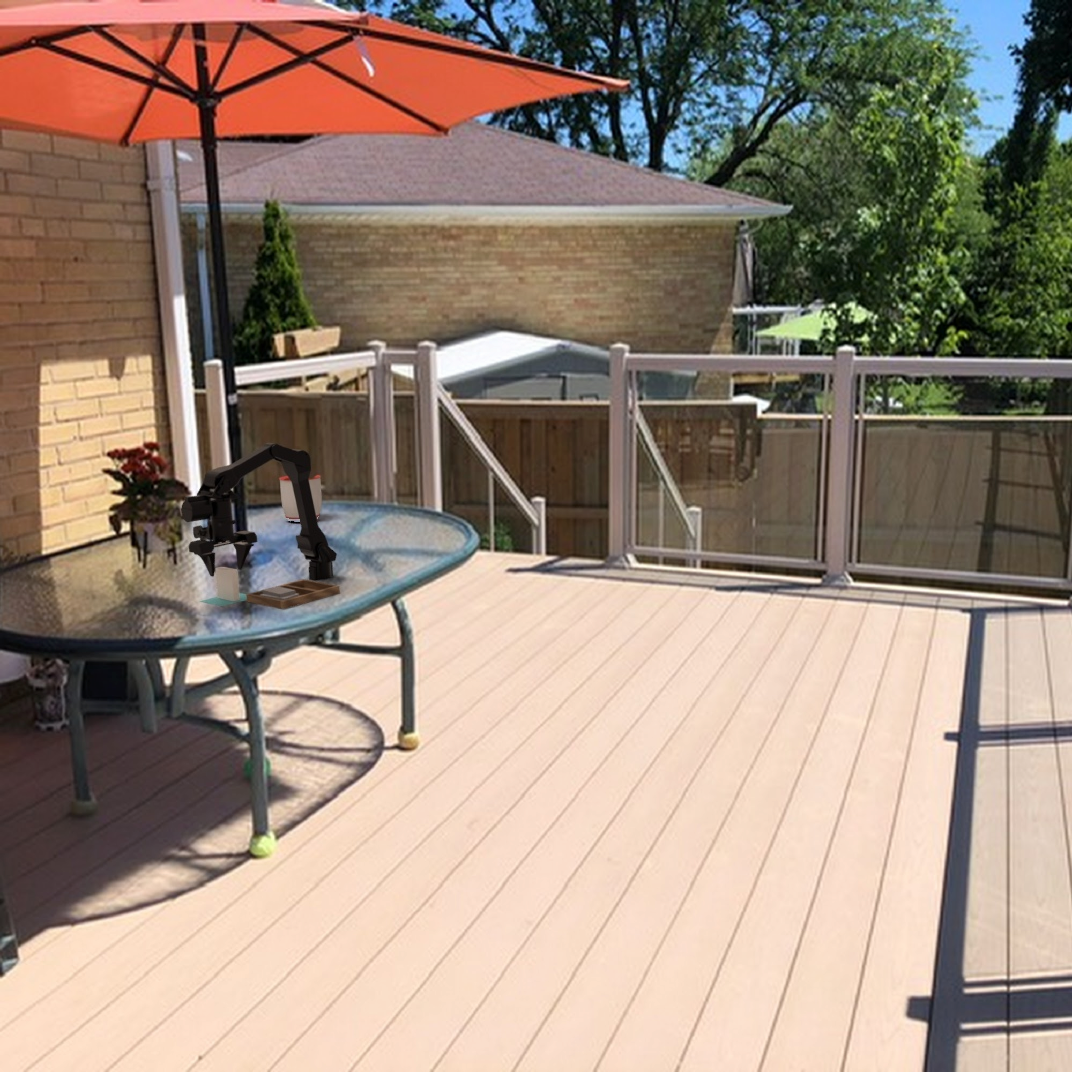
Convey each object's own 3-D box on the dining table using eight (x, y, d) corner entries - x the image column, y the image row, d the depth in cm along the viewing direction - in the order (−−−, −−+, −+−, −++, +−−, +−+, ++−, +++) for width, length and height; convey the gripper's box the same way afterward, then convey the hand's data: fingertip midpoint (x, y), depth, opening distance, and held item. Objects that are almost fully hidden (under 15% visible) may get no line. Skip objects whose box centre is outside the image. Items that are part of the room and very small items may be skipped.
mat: (235, 595, 311) (235, 592, 311) (258, 600, 305) (258, 596, 305) (199, 604, 302) (199, 601, 302) (222, 610, 296) (222, 606, 296)
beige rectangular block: (223, 596, 306) (221, 566, 305) (239, 599, 302) (237, 569, 301) (217, 598, 305) (215, 568, 303) (233, 601, 301) (231, 571, 299)
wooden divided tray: (303, 589, 316) (303, 579, 315) (340, 596, 307) (339, 585, 306) (247, 604, 301) (246, 594, 300) (283, 612, 292) (282, 601, 291)
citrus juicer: (334, 517, 429) (331, 466, 425) (307, 525, 413) (304, 472, 409) (301, 515, 435) (297, 465, 431) (273, 523, 419) (269, 471, 416)
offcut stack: (275, 596, 305) (274, 585, 305) (301, 601, 299) (300, 590, 298) (256, 601, 300) (255, 590, 300) (282, 606, 294) (281, 595, 293)
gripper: (231, 508, 311) (235, 563, 314) (173, 519, 296) (179, 576, 299) (256, 512, 304) (260, 567, 307) (199, 523, 290) (204, 581, 293)
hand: (226, 573), depth 302 cm, fingers open, 9 cm apart
